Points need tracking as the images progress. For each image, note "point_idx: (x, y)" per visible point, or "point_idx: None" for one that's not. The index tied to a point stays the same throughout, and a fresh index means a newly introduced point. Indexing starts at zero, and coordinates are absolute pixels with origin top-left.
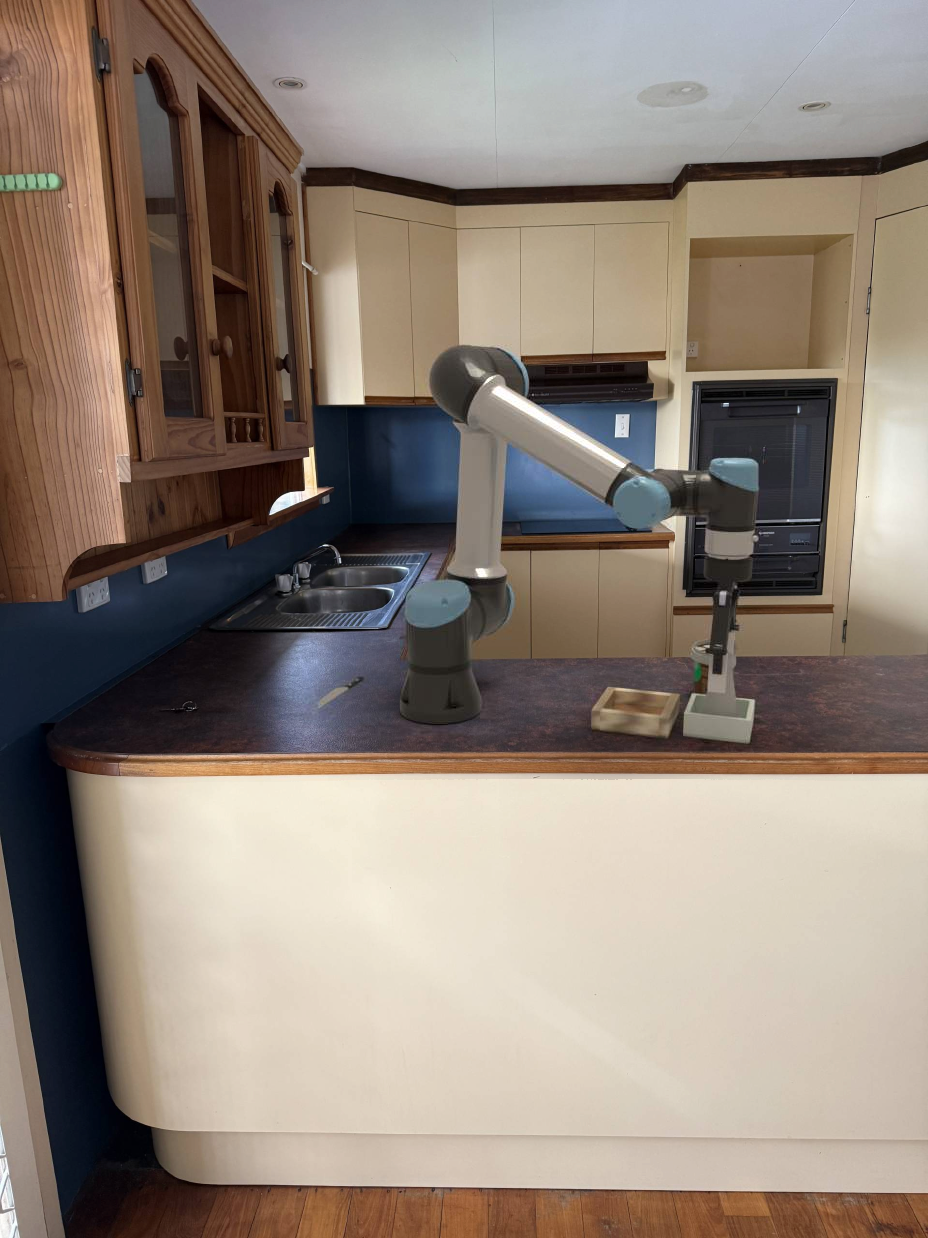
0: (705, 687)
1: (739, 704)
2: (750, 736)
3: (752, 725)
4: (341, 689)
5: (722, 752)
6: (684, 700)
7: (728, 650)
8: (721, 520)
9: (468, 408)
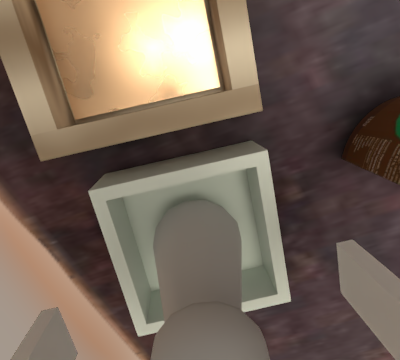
0: (369, 148)
1: (270, 265)
2: None
3: None
4: None
5: (70, 271)
6: (345, 87)
7: (385, 332)
8: None
9: None
